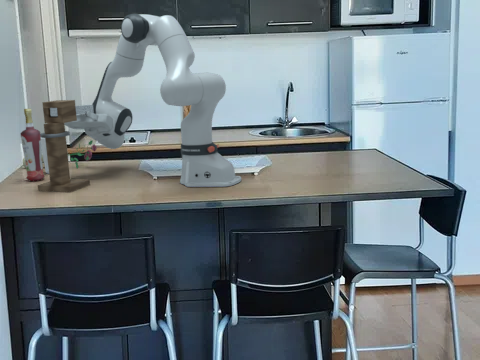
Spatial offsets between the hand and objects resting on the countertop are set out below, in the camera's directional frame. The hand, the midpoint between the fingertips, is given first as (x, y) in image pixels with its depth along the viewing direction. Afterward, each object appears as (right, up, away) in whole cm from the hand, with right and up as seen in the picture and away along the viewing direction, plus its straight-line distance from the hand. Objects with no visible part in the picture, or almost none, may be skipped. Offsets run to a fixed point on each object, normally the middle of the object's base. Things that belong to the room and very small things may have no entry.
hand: (75, 113), depth 226 cm
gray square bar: (-1, -1, -1) cm, 2 cm away
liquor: (-19, -25, +12) cm, 34 cm away
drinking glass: (-17, -22, +26) cm, 38 cm away
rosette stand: (-3, -28, -5) cm, 29 cm away
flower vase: (-16, -20, +37) cm, 45 cm away
